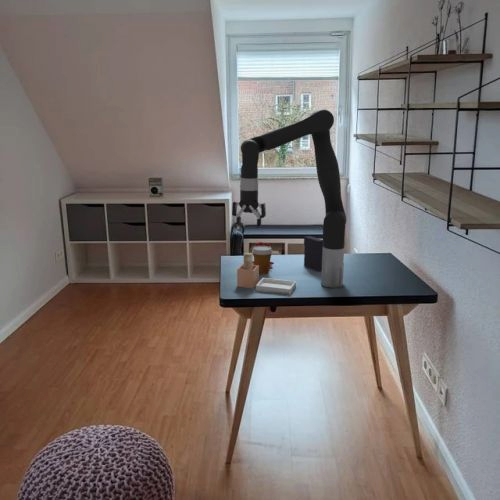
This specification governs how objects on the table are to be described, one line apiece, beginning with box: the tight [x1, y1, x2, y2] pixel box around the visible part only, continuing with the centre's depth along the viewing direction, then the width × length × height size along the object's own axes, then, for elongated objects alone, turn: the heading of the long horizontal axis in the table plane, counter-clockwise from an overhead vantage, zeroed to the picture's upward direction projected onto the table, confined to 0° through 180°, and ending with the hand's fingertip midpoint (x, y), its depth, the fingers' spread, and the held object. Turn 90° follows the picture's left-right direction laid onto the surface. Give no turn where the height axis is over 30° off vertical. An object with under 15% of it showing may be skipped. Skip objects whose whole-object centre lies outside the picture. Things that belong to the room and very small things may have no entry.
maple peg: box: [243, 252, 254, 270], centre depth 220 cm, size 4×4×14 cm
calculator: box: [303, 235, 323, 272], centre depth 245 cm, size 11×4×15 cm, turn 34°
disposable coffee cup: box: [251, 245, 273, 275], centre depth 237 cm, size 10×10×12 cm
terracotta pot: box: [236, 263, 260, 289], centre depth 221 cm, size 8×8×8 cm
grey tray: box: [255, 277, 297, 296], centre depth 217 cm, size 15×11×2 cm
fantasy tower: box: [253, 241, 275, 270], centre depth 248 cm, size 12×12×12 cm
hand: (248, 226), depth 215 cm, fingers open, 8 cm apart
